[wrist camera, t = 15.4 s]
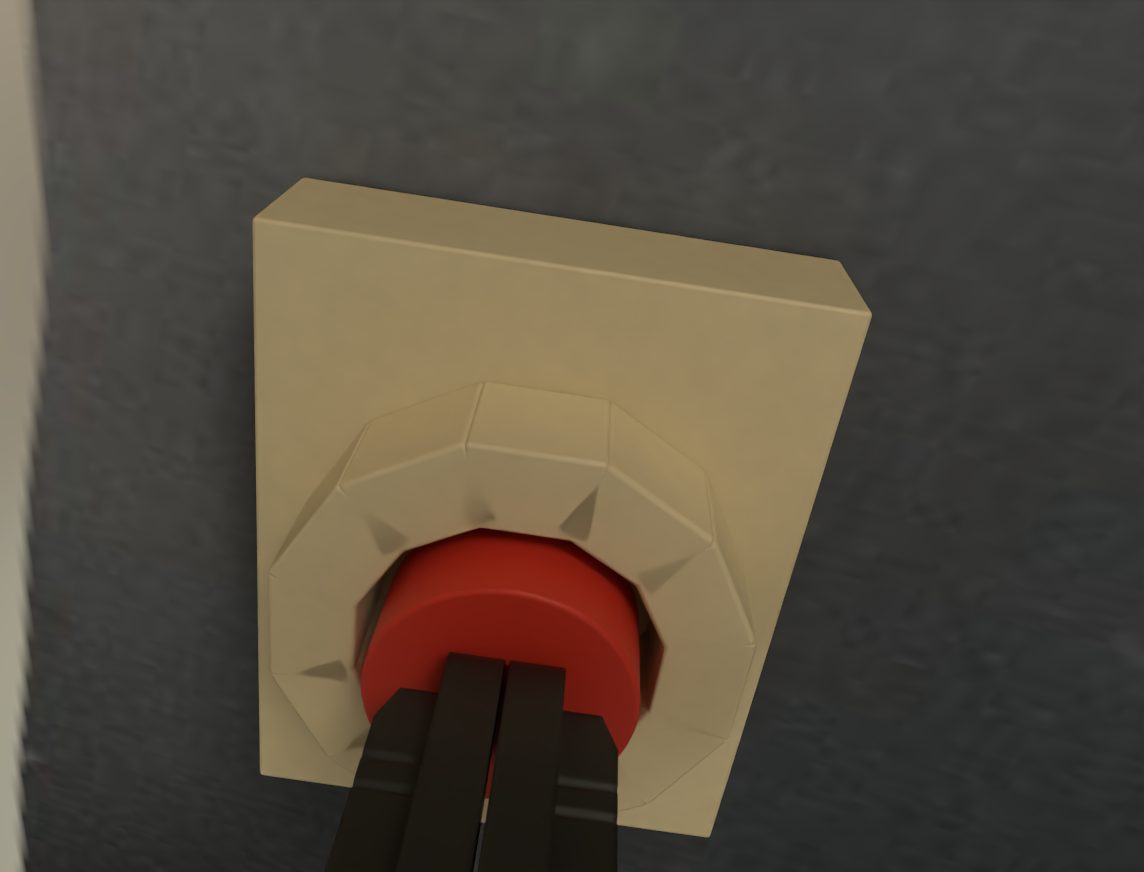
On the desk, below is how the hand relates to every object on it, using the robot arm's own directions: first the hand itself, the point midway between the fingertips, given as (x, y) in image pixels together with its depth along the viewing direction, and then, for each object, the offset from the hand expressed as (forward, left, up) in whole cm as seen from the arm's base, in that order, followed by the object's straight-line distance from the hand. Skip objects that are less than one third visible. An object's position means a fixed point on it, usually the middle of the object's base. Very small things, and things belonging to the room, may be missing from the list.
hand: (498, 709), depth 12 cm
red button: (0, 0, -2) cm, 2 cm away
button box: (0, 0, -5) cm, 5 cm away
